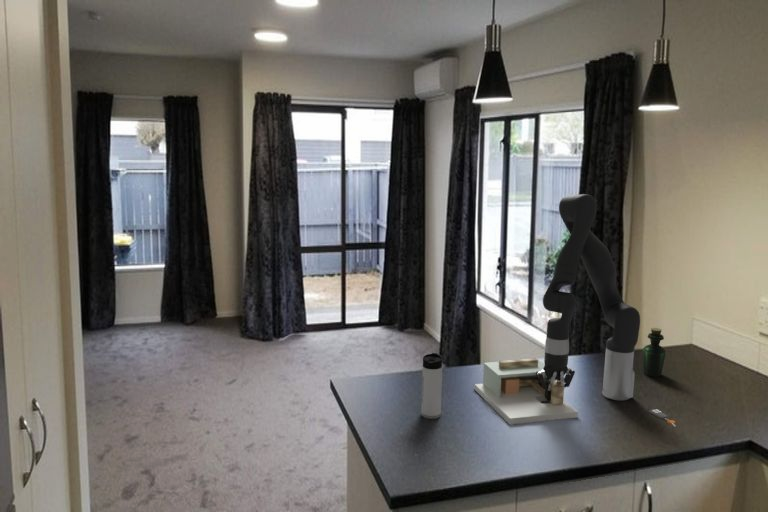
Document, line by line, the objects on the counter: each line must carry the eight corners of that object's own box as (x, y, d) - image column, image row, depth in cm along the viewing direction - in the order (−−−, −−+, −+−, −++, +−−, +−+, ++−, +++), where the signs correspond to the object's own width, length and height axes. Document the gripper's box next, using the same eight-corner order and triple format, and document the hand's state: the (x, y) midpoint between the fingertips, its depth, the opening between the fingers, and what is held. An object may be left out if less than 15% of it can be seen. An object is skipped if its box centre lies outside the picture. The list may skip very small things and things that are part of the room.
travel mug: (442, 412, 200) (444, 353, 197) (438, 420, 194) (439, 360, 190) (424, 409, 202) (426, 351, 199) (419, 417, 196) (420, 358, 192)
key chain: (647, 413, 202) (647, 409, 202) (656, 412, 203) (656, 408, 203) (677, 430, 190) (678, 426, 190) (687, 429, 191) (687, 424, 191)
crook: (535, 382, 220) (535, 366, 219) (563, 403, 202) (564, 386, 201) (513, 384, 218) (513, 368, 217) (539, 406, 200) (540, 388, 199)
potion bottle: (642, 376, 235) (646, 331, 231) (639, 369, 242) (643, 325, 239) (665, 378, 232) (669, 333, 229) (662, 371, 240) (666, 327, 237)
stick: (535, 364, 217) (535, 358, 217) (537, 365, 216) (538, 360, 215) (498, 366, 214) (499, 360, 214) (501, 368, 212) (501, 362, 212)
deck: (535, 384, 225) (536, 358, 224) (578, 417, 198) (580, 388, 196) (474, 389, 219) (475, 362, 218) (509, 424, 192) (511, 394, 190)
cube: (512, 387, 217) (513, 374, 216) (518, 392, 212) (519, 379, 211) (499, 388, 215) (500, 375, 215) (505, 394, 211) (506, 380, 210)
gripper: (569, 345, 207) (566, 393, 210) (531, 348, 204) (529, 397, 206) (582, 352, 200) (578, 402, 203) (543, 355, 196) (540, 406, 199)
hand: (553, 399), depth 205 cm, fingers closed on crook, 3 cm apart
